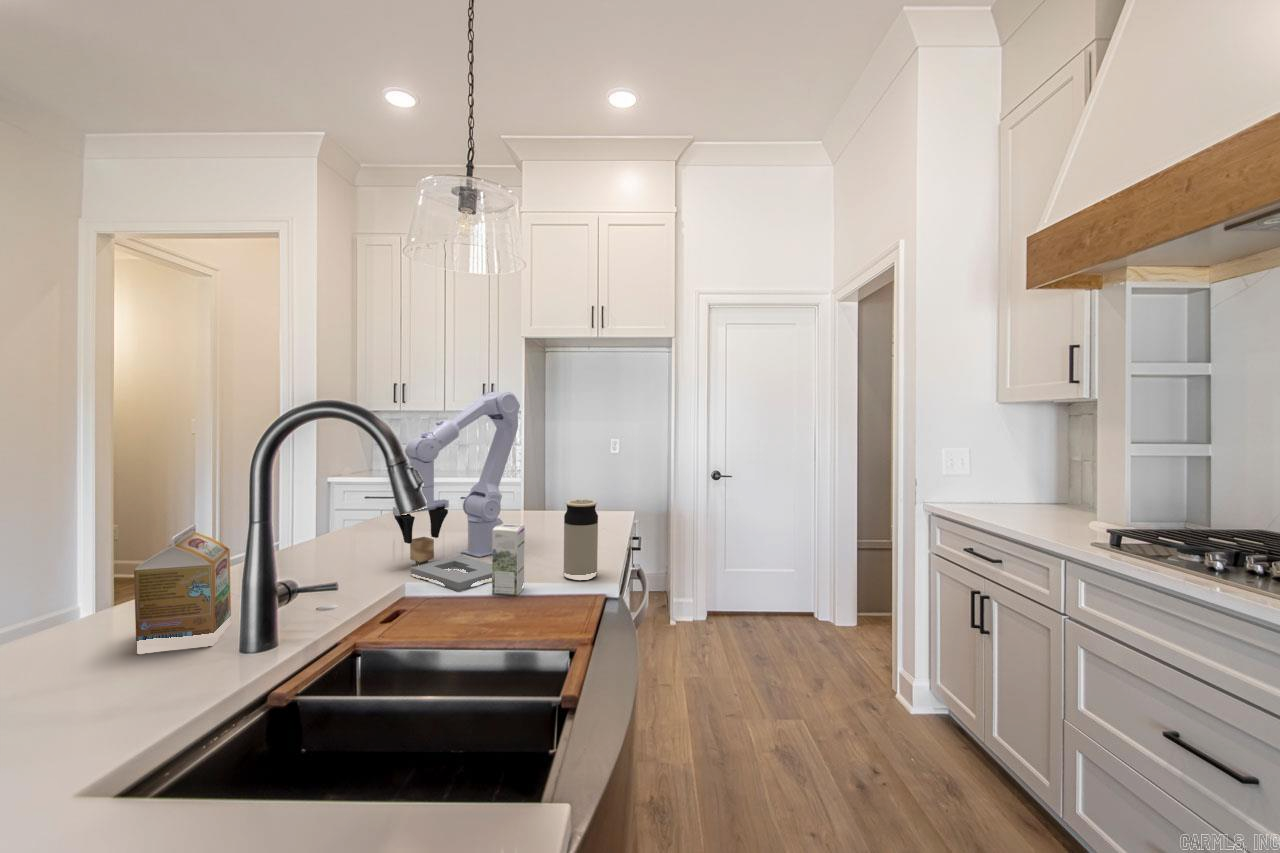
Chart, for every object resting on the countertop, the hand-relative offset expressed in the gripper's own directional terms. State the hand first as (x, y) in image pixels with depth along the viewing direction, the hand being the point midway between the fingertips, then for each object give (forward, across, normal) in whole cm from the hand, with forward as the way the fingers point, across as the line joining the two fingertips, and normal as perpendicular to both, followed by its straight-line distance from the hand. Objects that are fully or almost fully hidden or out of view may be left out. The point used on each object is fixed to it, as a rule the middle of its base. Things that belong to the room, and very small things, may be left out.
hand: (421, 539), depth 151 cm
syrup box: (+6, 0, +32) cm, 33 cm away
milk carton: (+7, +52, +8) cm, 53 cm away
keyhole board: (+6, 0, +15) cm, 16 cm away
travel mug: (+6, -18, +37) cm, 42 cm away
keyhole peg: (+6, 0, 0) cm, 6 cm away
